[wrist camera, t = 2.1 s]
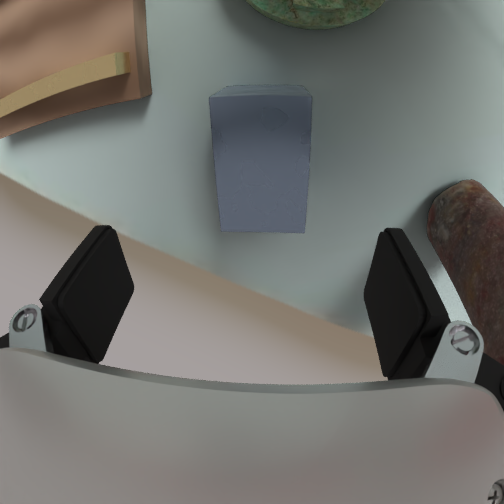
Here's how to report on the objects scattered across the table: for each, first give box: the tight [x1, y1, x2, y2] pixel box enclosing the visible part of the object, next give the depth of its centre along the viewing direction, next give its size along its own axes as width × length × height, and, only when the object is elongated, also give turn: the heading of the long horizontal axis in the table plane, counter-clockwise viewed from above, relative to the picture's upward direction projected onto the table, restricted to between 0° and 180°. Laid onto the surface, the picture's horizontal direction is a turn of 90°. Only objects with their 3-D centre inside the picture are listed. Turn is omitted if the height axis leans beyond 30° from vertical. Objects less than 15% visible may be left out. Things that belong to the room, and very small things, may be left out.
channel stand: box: [0, 0, 152, 139], centre depth 11 cm, size 18×16×4 cm
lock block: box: [209, 85, 312, 233], centre depth 17 cm, size 8×5×6 cm, turn 2°
